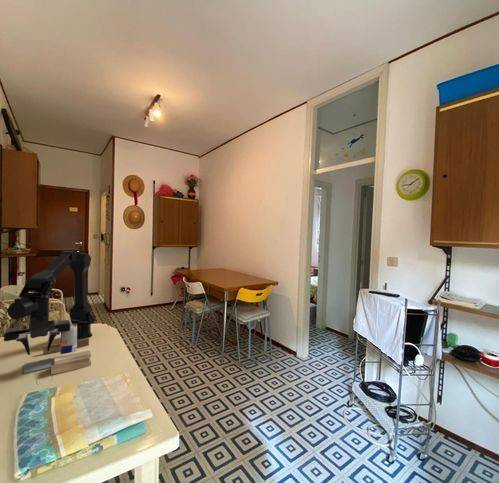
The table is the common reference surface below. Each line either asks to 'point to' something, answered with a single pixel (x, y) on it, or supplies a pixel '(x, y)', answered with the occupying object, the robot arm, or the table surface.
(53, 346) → the walnut back board
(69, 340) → the energy drink
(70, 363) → the offcut stack
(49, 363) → the slate pad
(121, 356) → the table surface
